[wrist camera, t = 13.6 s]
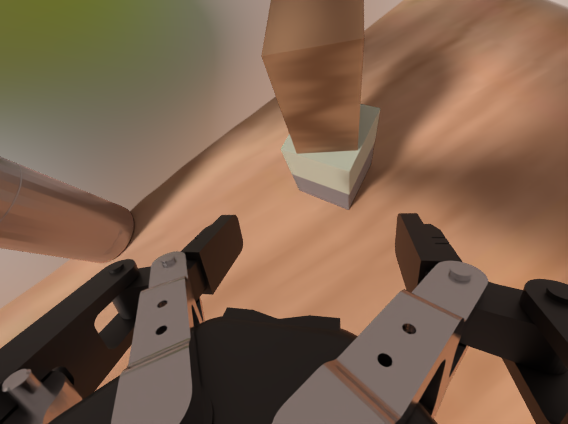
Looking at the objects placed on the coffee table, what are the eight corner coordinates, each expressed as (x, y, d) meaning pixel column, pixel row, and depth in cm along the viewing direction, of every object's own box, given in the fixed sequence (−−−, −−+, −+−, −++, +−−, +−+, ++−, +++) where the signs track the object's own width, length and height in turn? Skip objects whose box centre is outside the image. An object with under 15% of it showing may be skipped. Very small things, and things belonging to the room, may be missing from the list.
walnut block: (296, 153, 23) (261, 56, 14) (301, 106, 24) (272, -8, 15) (357, 150, 21) (364, 38, 12) (357, 100, 23) (363, -31, 14)
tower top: (291, 174, 28) (280, 149, 23) (317, 125, 29) (312, 93, 25) (349, 194, 25) (349, 171, 21) (375, 140, 27) (380, 108, 22)
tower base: (299, 190, 32) (291, 172, 28) (322, 148, 34) (318, 124, 29) (348, 210, 30) (348, 194, 25) (371, 163, 31) (374, 140, 27)
